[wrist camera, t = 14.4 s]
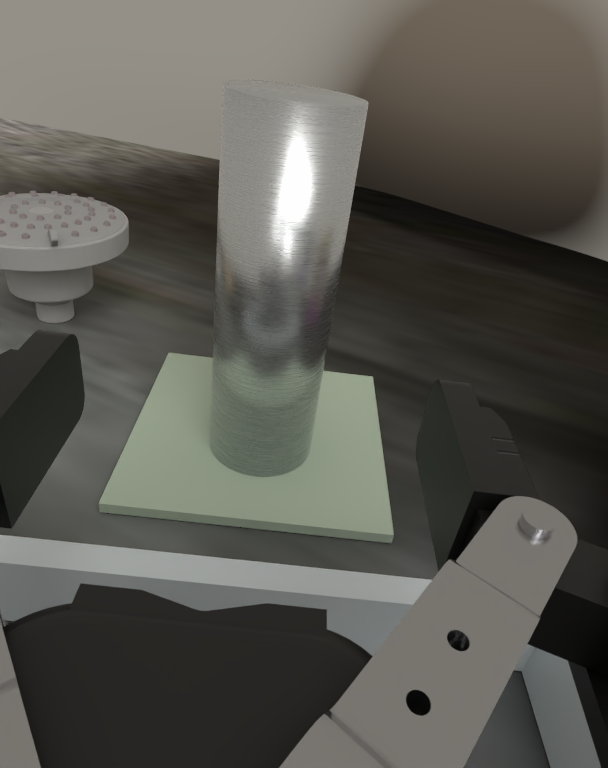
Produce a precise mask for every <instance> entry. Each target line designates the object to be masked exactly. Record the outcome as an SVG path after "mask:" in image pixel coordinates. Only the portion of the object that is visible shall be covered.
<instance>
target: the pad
mask: <svg viewBox="0 0 608 768" xmlns="http://www.w3.org/2000/svg"><path fill="white" fill-rule="evenodd" d="M212 363H213V358H210V357H202V356H193V355H185V354H176V353H168V355H167V358H166V360H165V362H164V364H163V366H162V368H161V370H160V373H159V375H158V377H157V379H156V381H155V383H154V385H153V388H152V390H151V392H150V394H149V396H148V398H147V400H146V403H145V405H144V407H143V409H142V411H141V413H140V415H139V418H138V420H137V422H136V424H135V426H134V428H133V430H132V433H131V435H130V437H129V439H128V441H127V443H126V446H125V448H124V450H123V452H122V454H121V456H120V458H119V461H118V463H117V465H116V467H115V469H114V471H113V473H112V476H111V478H110V480H109V482H108V484H107V486H106V488H105V491H104V493H103V495H102V497H101V499H100V501H99V512H103V513H112V514H121V515H131V516H140V517H150V518H159V519H168V520H178V521H187V522H196V523H206V524H215V525H225V526H234V527H243V528H253V529H262V530H271V531H281V532H290V533H299V534H309V535H318V536H328V537H337V538H346V539H356V540H365V541H374V542H384V543H392V540H393V536H394V532H393V525H392V517H391V510H390V502H389V495H388V487H387V479H386V472H385V464H384V457H383V449H382V442H381V434H380V427H379V419H378V412H377V404H376V397H375V389H374V382H373V377H370V376H362V375H354V374H345V373H337V372H328V371H323V376H322V382H321V387H320V393H319V399H318V405H317V411H316V417H315V423H314V429H313V435H312V441H311V447H310V452H309V455H308V457H307V459H306V460H305V462H304V463H303V464H302V465H301V466H299V467H298V468H296V469H295V470H293V471H291V472H289V473H286V474H283V475H278V476H272V477H255V476H249V475H245V474H241V473H238V472H235V471H233V470H231V469H229V468H228V467H226V466H224V465H223V464H222V463H221V462H219V461H218V459H217V458H216V457H215V456H214V454H213V452H212V450H211V447H210V418H211V391H212Z"/></svg>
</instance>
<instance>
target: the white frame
mask: <svg viewBox="0 0 608 768" xmlns="http://www.w3.org/2000/svg"><path fill="white" fill-rule="evenodd" d="M431 581H432V580H429V579H419V578H409V577H400V576H390V575H381V574H371V573H361V572H352V571H342V570H333V569H323V568H314V567H304V566H294V565H285V564H275V563H266V562H256V561H246V560H237V559H227V558H218V557H208V556H199V555H189V554H179V553H170V552H160V551H151V550H141V549H131V548H122V547H112V546H103V545H93V544H84V543H74V542H64V541H55V540H45V539H36V538H26V537H16V536H7V535H0V610H1V614H2V617H3V620H6V621H15V620H18V619H20V618H22V617H25V616H27V615H29V614H31V613H34V612H37V611H40V610H43V609H46V608H50V607H54V606H58V605H63V604H69V603H72V602H73V599H74V597H75V595H76V592H77V590H78V588H79V586H80V583H82V584H92V585H101V586H110V587H120V588H129V589H138V590H144V591H146V592H149V593H152V594H155V595H157V596H160V597H163V598H166V599H168V600H171V601H174V602H177V603H179V604H182V605H185V606H188V607H190V608H193V609H196V610H200V611H210V610H217V609H225V608H233V607H241V606H249V605H257V604H265V603H270V604H279V605H289V606H298V607H308V608H317V609H326V610H327V629H328V630H330V631H333V632H336V633H338V634H340V635H342V636H344V637H346V638H348V639H350V640H351V641H353V642H354V643H356V644H358V645H359V646H361V647H362V648H363V649H365V650H366V651H367V652H368V653H369V654H371V655H372V656H374V654H375V653H376V652H377V650H378V649H379V648H380V647H381V645H382V644H383V643H384V641H385V640H386V639H387V638H388V636H389V635H390V634H391V632H392V631H393V630H394V629H395V627H396V626H397V625H398V623H399V622H400V621H401V620H402V618H403V617H404V616H405V614H406V613H407V612H408V611H409V609H410V608H411V607H412V605H413V604H414V603H415V602H416V600H417V599H418V598H419V596H420V595H421V594H422V593H423V591H424V590H425V589H426V587H427V586H428V585H429V584H430V582H431ZM514 671H522V675H523V678H524V681H525V685H526V688H527V691H528V695H529V698H530V701H531V705H532V708H533V711H534V715H535V718H536V721H537V725H538V728H539V731H540V735H541V738H542V741H543V745H544V748H545V751H546V755H547V758H548V761H549V765H550V768H601V766H600V762H599V759H598V756H597V753H596V750H595V746H594V743H593V740H592V737H591V734H590V730H589V727H588V724H587V721H586V718H585V714H584V711H583V708H582V705H581V702H580V698H579V695H578V692H577V689H576V686H575V682H574V679H573V676H572V673H571V670H570V666H569V663H568V661H567V660H565V659H563V658H560V657H558V656H555V655H553V654H550V653H548V652H545V651H543V650H541V649H538V648H536V647H533V646H531V645H528V644H527V645H526V647H525V649H524V651H523V653H522V655H521V657H520V659H519V661H518V663H517V665H516V667H515V669H514Z"/></svg>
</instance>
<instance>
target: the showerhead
mask: <svg viewBox="0 0 608 768" xmlns="http://www.w3.org/2000/svg"><path fill="white" fill-rule="evenodd" d="M128 244H129V228H128V218H127V217H126V216H125V214H124V213H123V212H122V211H120V210H119V209H117V208H115V207H113V206H111V205H108V204H107V203H105V202H100V201H96V200H94V198H92V197H88V198H84V197H79V196H77V194H74V193H72V194H71V195H63V194H58V192H56V191H52V192H51V194H45V193H36V191H30V193H29V194H15V192H9V195H4V196H0V269H4V271H5V276H6V280H7V285H8V289H9V291H10V292H11V293H12V294H13V295H15V296H16V297H18V298H21V299H24V300H27V301H30V302H35V306H36V312H37V317H38V319H39V320H41V321H43V322H46V323H62V322H66V321H68V320H70V319H72V318H73V317H74V305H73V300H74V299H77V298H79V297H81V296H83V295H85V294H87V293H88V292H89V291H90V290H91V289H92V287H93V271H92V266H93V265H96V264H100V263H103V262H106V261H108V260H110V259H113V258H115V257H116V256H118V255H120V254H121V253H122V252H123V251H125V249H126V248H127V246H128Z"/></svg>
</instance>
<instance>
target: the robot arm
mask: <svg viewBox="0 0 608 768" xmlns="http://www.w3.org/2000/svg"><path fill="white" fill-rule="evenodd" d="M84 398H85V394H84V385H83V376H82V368H81V360H80V352H79V344H78V340H77V338H76V336H75V335H73V334H66V333H58V332H50V331H42V330H38V331H36V332H35V333H34V334H33V335H32V336H31V337H30V338H29V339H28V340H27V341H26V342H25V343H24V344H23V345H22V346H21V348H20V349H19V350H13V349H10V350H8V351H6V352H4V353H2V354H0V527H3V528H12V527H13V525H14V524H15V522H16V521H17V519H18V517H19V516H20V514H21V513H22V511H23V509H24V508H25V506H26V505H27V503H28V501H29V500H30V498H31V497H32V495H33V493H34V492H35V490H36V488H37V487H38V485H39V484H40V482H41V480H42V479H43V477H44V476H45V474H46V472H47V471H48V469H49V468H50V466H51V464H52V463H53V461H54V460H55V458H56V456H57V455H58V453H59V452H60V450H61V448H62V447H63V445H64V443H65V442H66V440H67V439H68V437H69V435H70V434H71V432H72V431H73V429H74V427H75V426H76V424H77V423H78V421H79V419H80V417H81V414H82V411H83V407H84ZM513 440H514V439H513V437H512V435H511V433H510V430H509V428H508V426H507V424H506V422H505V421H504V420H503V419H502V418H501V417H500V416H499V415H498V414H497V413H496V412H495V411H494V410H493V409H492V408H487V407H480V405H479V403H478V400H477V398H476V395H475V393H474V390H473V387H472V385H471V384H469V383H462V382H454V381H445V380H436V381H435V382H434V384H433V386H432V389H431V393H430V396H429V399H428V403H427V406H426V409H425V413H424V416H423V419H422V423H421V426H420V429H419V433H418V437H417V444H416V459H417V465H418V470H419V475H420V480H421V485H422V490H423V495H424V500H425V505H426V510H427V515H428V520H429V525H430V530H431V535H432V540H433V545H434V550H435V555H436V560H437V566H438V571H439V572H438V573H437V575H436V576H435V577H434V578H433V580H432V581H431V582H430V584H429V585H428V586H427V587H426V589H425V590H424V591H423V593H422V594H421V595H420V596H419V598H418V599H417V600H416V602H415V603H414V604H413V605H412V607H411V608H410V609H409V611H408V612H407V613H406V614H405V616H404V617H403V618H402V620H401V621H400V622H399V623H398V625H397V626H396V627H395V629H394V630H393V631H392V632H391V634H390V635H389V636H388V638H387V639H386V640H385V641H384V643H383V644H382V645H381V647H380V648H379V649H378V650H377V652H376V653H375V654H374V656H372V655H371V654H369V653H368V652H367V651H366V650H365V649H363V648H362V647H361V646H359V645H358V644H356V643H354V642H353V641H351V640H350V639H348V638H346V637H344V636H342V635H340V634H338V633H336V632H333V631H330V630H328V629H327V610H326V609H317V608H308V607H298V606H289V605H279V604H270V603H265V604H257V605H249V606H241V607H233V608H225V609H217V610H210V611H200V610H196V609H193V608H190V607H188V606H185V605H182V604H179V603H177V602H174V601H171V600H168V599H166V598H163V597H160V596H157V595H155V594H152V593H149V592H146V591H144V590H138V589H129V588H120V587H110V586H101V585H92V584H82V583H80V586H79V588H78V590H77V592H76V595H75V597H74V599H73V602H72V603H69V604H63V605H58V606H54V607H50V608H46V609H43V610H40V611H37V612H34V613H31V614H29V615H27V616H25V617H22V618H20V619H18V620H15V621H14V622H12V623H10V624H8V625H6V626H5V624H4V621H3V617H2V614H1V610H0V768H463V767H464V765H465V763H466V762H467V760H468V758H469V756H470V754H471V752H472V750H473V748H474V746H475V744H476V742H477V740H478V738H479V736H480V734H481V732H482V731H483V729H484V727H485V725H486V723H487V721H488V719H489V717H490V715H491V713H492V711H493V709H494V707H495V705H496V703H497V702H498V700H499V698H500V696H501V694H502V692H503V690H504V688H505V686H506V684H507V682H508V680H509V678H510V676H511V674H512V672H513V671H514V669H515V667H516V665H517V663H518V661H519V659H520V657H521V655H522V653H523V651H524V649H525V647H526V645H527V644H528V645H531V646H533V647H536V648H538V649H541V650H543V651H545V652H548V653H550V654H553V655H555V656H558V657H560V658H563V659H565V660H567V661H568V663H569V666H570V670H571V673H572V676H573V679H574V682H575V686H576V689H577V692H578V695H579V698H580V702H581V705H582V708H583V711H584V714H585V718H586V721H587V724H588V727H589V730H590V734H591V737H592V740H593V743H594V746H595V750H596V753H597V756H598V759H599V762H600V766H601V768H608V550H607V549H605V548H602V547H599V546H596V545H593V544H591V543H588V542H585V541H583V540H581V539H579V538H577V534H576V531H575V529H574V527H573V525H572V524H571V522H570V521H569V520H568V519H567V518H566V517H565V516H564V515H563V514H562V513H561V512H560V511H558V510H557V509H556V508H554V507H552V506H551V505H549V504H547V503H545V502H543V501H540V499H539V496H538V494H537V492H536V490H535V487H534V485H533V483H532V480H531V478H530V476H529V474H528V471H527V469H526V467H525V465H524V462H523V460H522V458H521V456H519V451H518V449H517V446H516V444H515V443H513Z"/></svg>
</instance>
